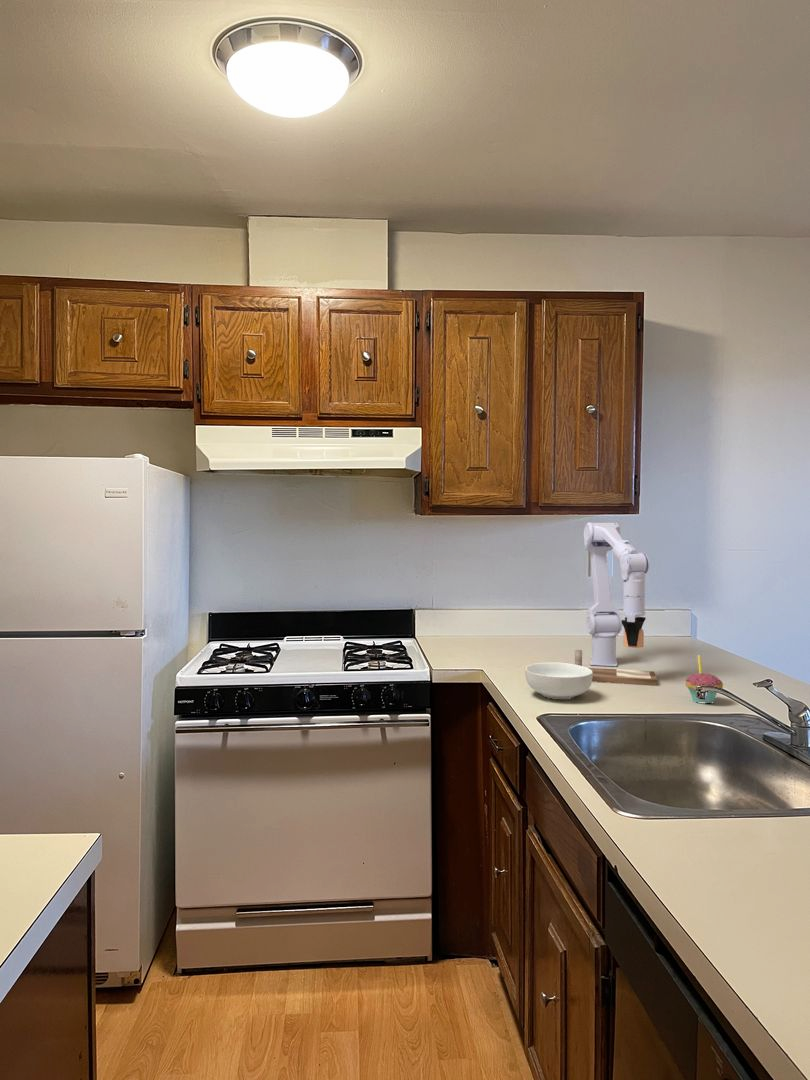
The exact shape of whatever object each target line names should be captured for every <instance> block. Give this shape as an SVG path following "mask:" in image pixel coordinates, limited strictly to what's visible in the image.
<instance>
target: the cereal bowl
mask: <svg viewBox="0 0 810 1080" xmlns="http://www.w3.org/2000/svg"><path fill="white" fill-rule="evenodd" d="M589 668H590V667H586V666H583V665H582V666H579V665H575V663H574V664H573V663H568V662H567V663H566V662H557V661H556V662H553V661H551V662H546V661H545V662H537V663H536V662H535V663H532V664H528V665H527V666H526V667H525V672H524V673H525V678H526V682H527V685H528V686H529V688H531V689H532V690H533V691H535V692H536V693H538V694H541V695H542V696H543V697H544V698H546V697H547V699H550V698H552V699H551V700H556V699H567V700H570V699H569V698H572V699H574V698H575V697H578V696H581V695H582V694H584V693H586V692H587V691H588V690H589V689H590V687H591V686H592V683H593V682H592V677H593V672H592V670H591V669H589Z"/></svg>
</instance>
